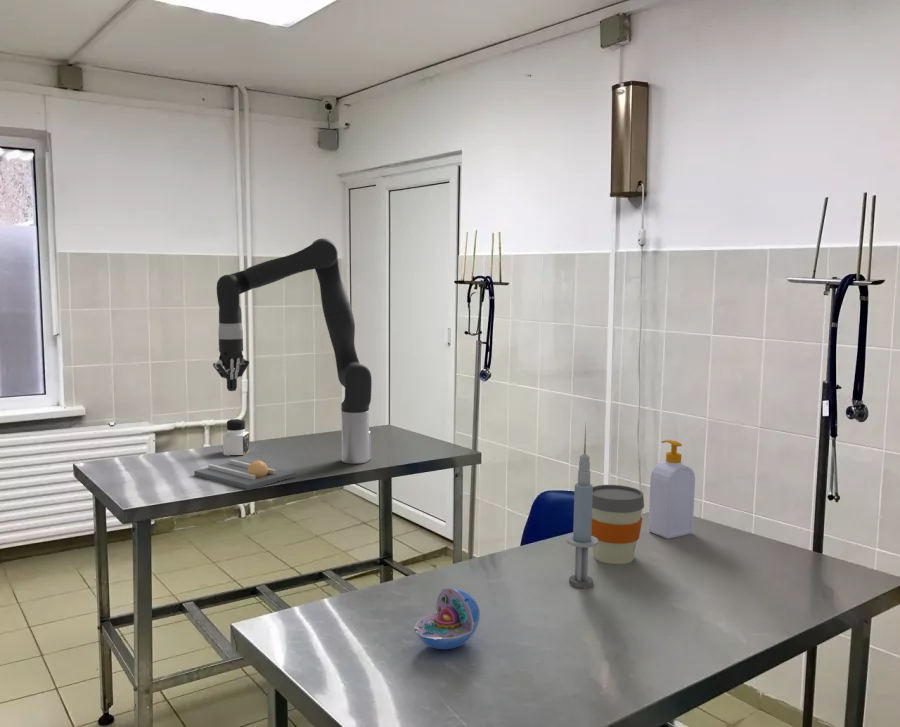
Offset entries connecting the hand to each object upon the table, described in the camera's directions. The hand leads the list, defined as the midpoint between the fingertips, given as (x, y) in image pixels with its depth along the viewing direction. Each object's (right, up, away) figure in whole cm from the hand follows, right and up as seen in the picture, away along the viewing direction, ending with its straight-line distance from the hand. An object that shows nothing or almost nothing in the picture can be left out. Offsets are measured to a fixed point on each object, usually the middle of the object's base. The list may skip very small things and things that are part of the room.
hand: (232, 390), depth 246 cm
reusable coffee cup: (+107, -35, -75) cm, 135 cm away
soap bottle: (+125, -33, -58) cm, 142 cm away
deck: (+7, -26, -10) cm, 29 cm away
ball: (+12, -24, -14) cm, 30 cm away
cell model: (+70, -40, -116) cm, 142 cm away
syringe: (+98, -37, -90) cm, 137 cm away
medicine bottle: (-4, -23, +21) cm, 31 cm away
